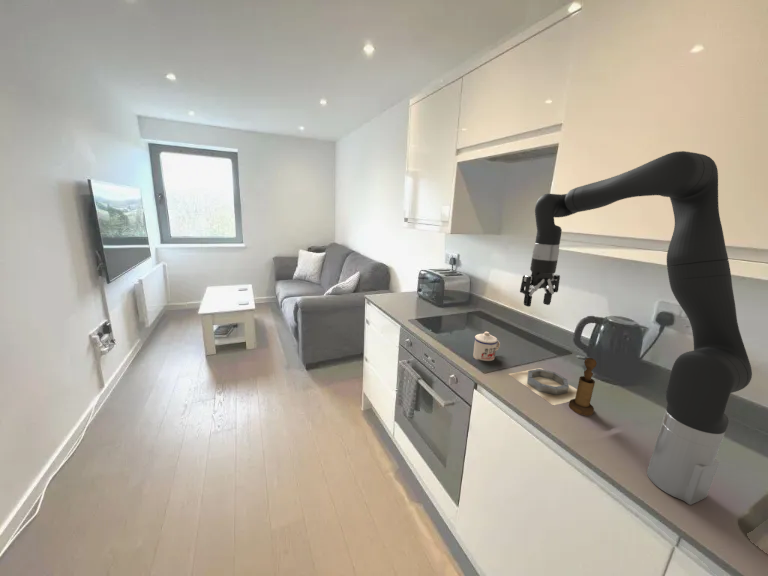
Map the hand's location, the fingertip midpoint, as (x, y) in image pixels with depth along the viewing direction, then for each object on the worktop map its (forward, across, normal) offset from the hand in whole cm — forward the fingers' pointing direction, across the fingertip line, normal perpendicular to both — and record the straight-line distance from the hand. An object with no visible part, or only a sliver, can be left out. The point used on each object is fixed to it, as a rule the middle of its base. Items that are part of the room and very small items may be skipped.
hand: (536, 305), depth 104 cm
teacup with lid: (+30, -1, +20) cm, 36 cm away
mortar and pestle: (+30, +4, -19) cm, 35 cm away
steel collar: (+28, +5, -5) cm, 29 cm away
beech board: (+29, +5, -5) cm, 30 cm away
